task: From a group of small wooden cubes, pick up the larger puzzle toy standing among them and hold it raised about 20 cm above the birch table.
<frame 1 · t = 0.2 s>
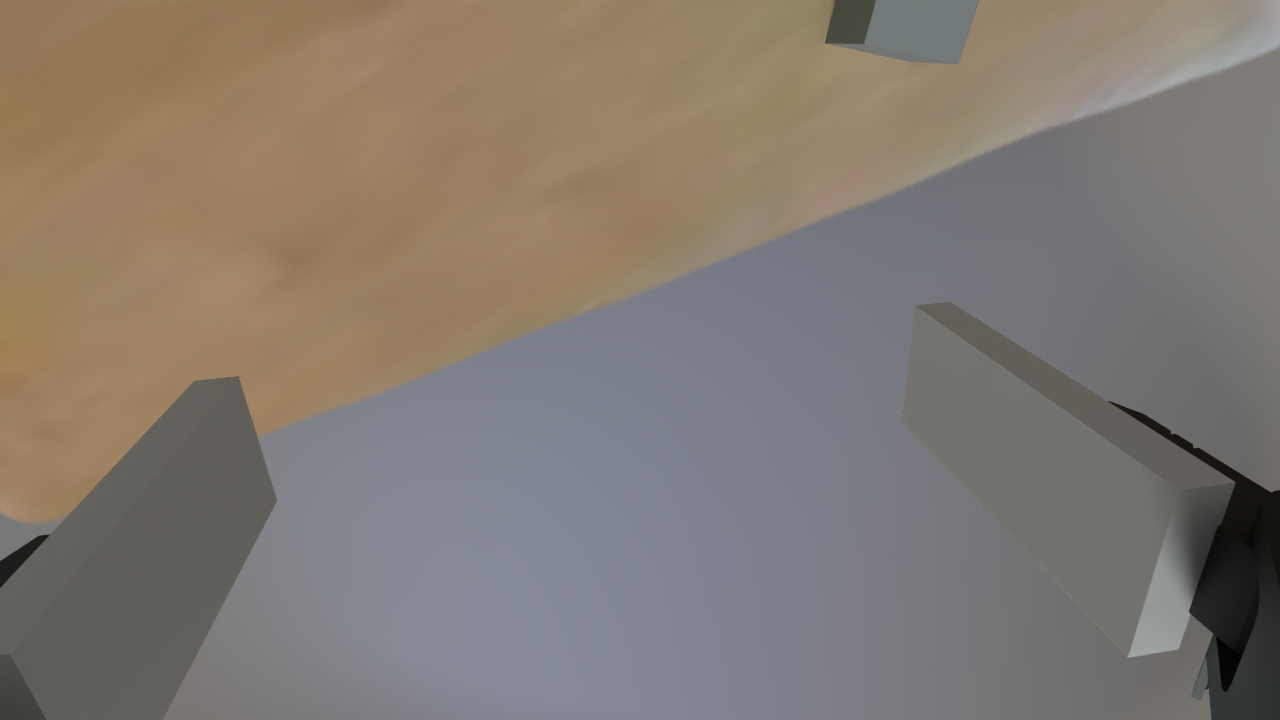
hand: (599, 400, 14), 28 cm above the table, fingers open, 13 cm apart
slate grey cube: (881, 1, 39), on the table
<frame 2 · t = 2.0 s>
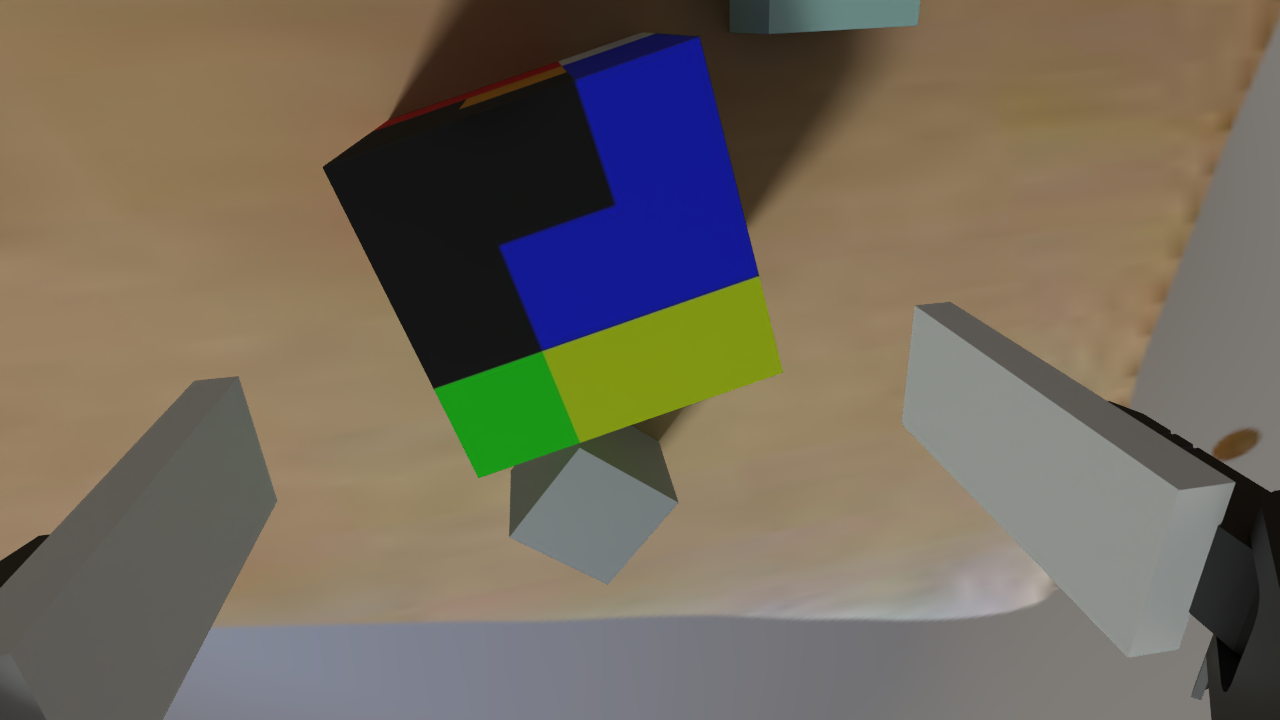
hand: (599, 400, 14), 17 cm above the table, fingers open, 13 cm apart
puzzle toy: (560, 201, 30), on the table
slate grey cube: (585, 455, 35), on the table
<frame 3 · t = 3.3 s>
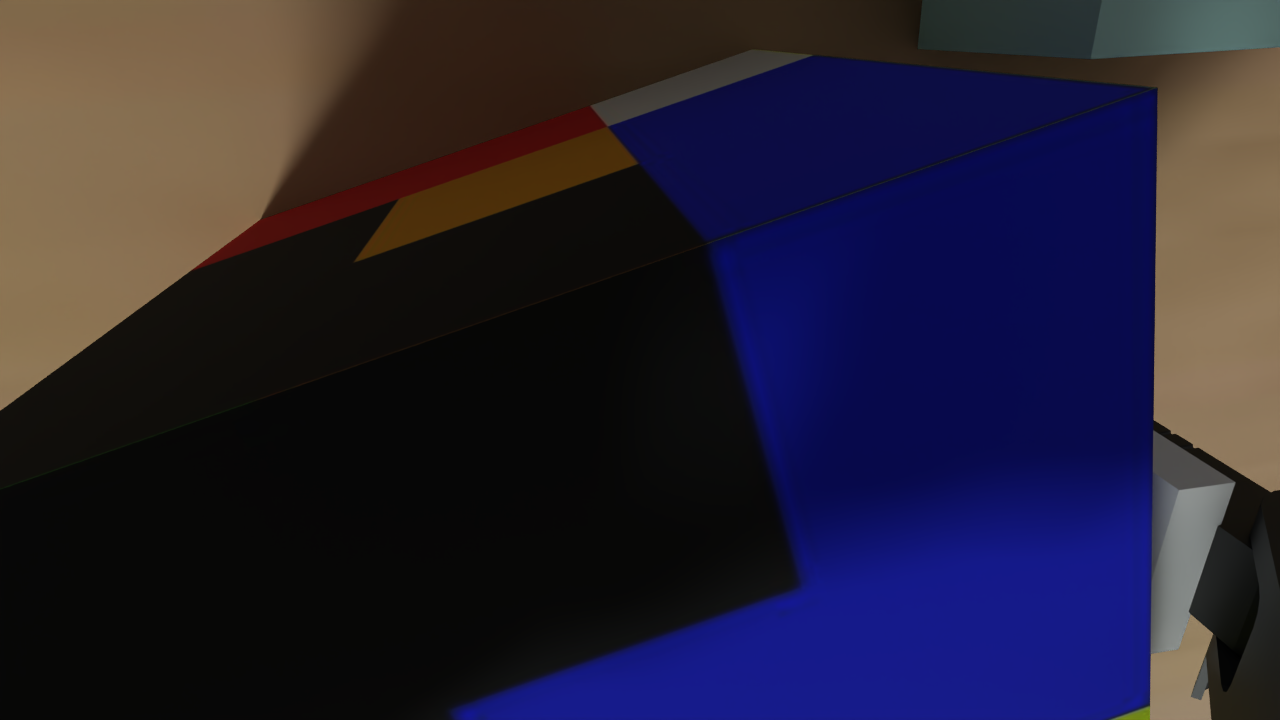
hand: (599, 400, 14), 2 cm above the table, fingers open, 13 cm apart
puzzle toy: (590, 351, 16), on the table
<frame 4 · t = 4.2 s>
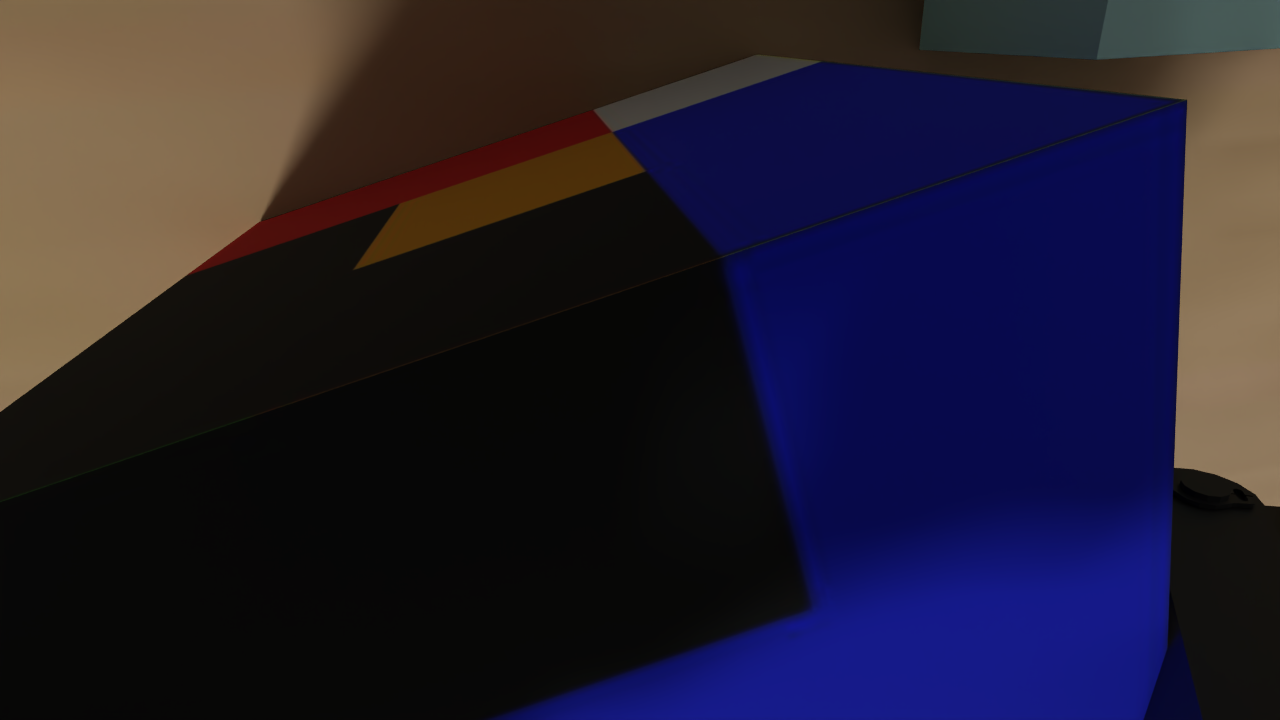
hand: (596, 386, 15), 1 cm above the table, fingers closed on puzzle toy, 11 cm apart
puzzle toy: (591, 358, 16), on the table, touching gripper
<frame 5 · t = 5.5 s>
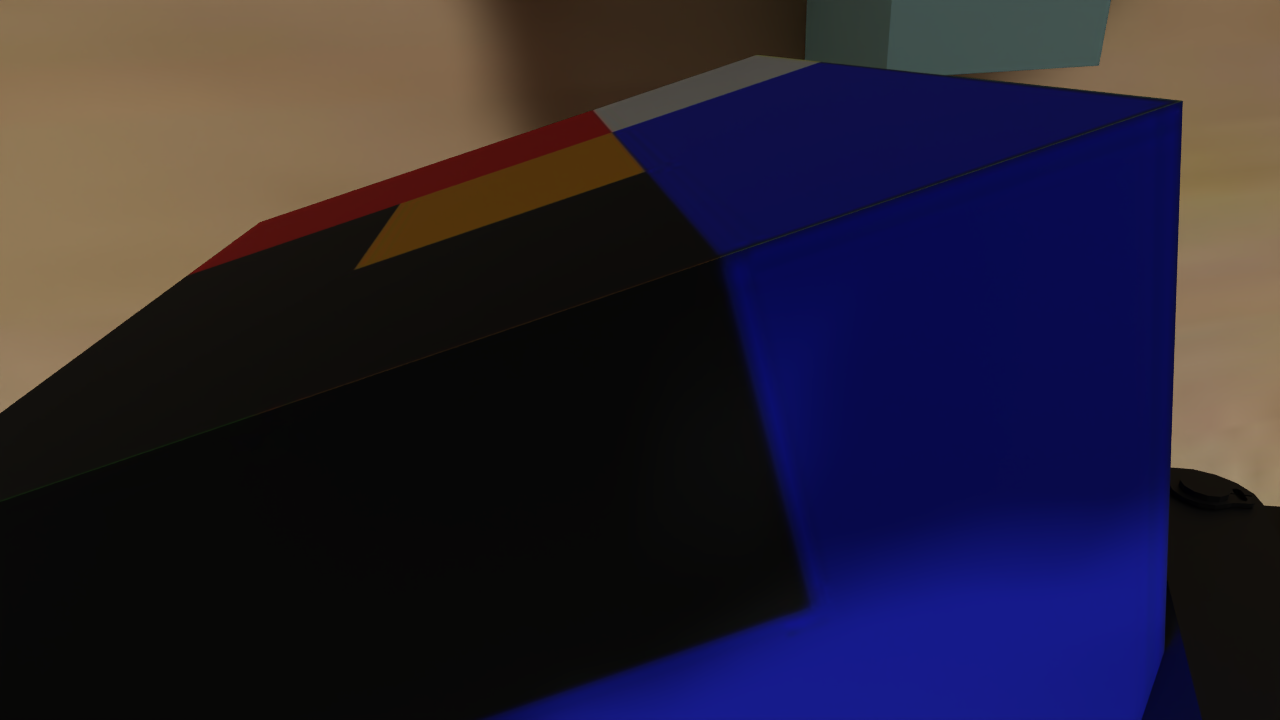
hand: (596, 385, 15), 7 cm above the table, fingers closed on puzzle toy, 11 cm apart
puzzle toy: (591, 358, 16), point 6 cm above the table, touching gripper
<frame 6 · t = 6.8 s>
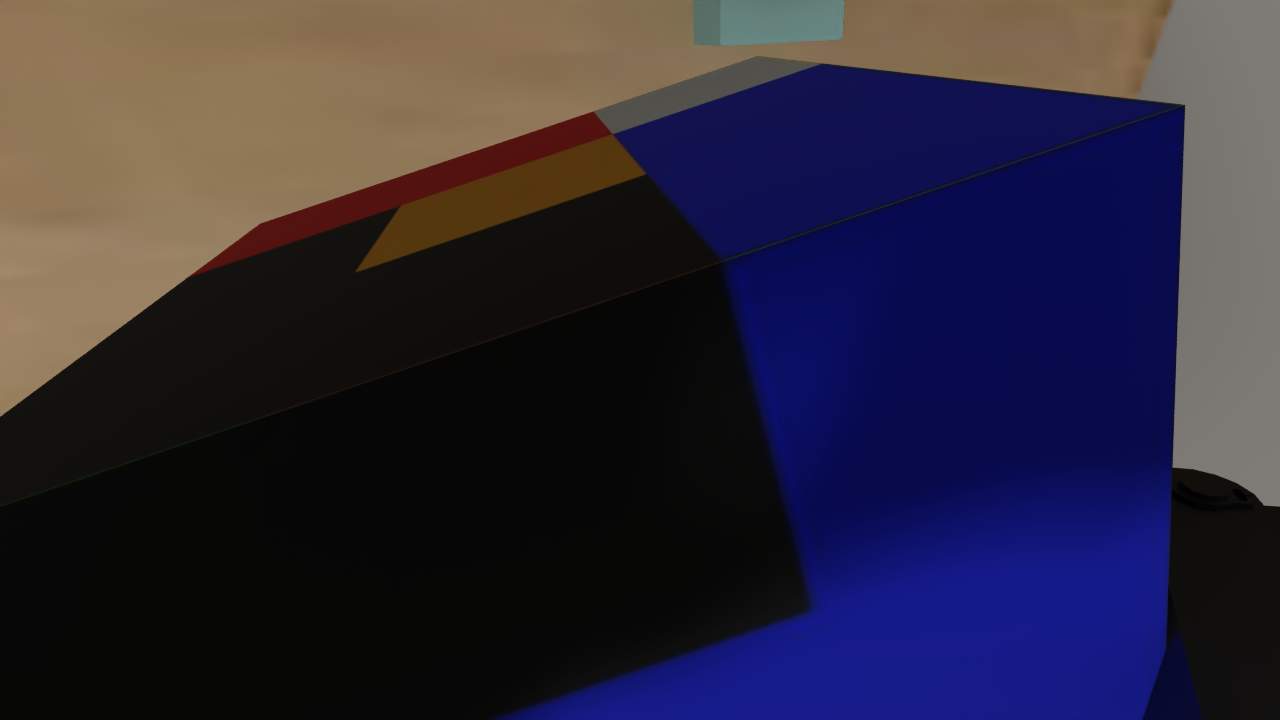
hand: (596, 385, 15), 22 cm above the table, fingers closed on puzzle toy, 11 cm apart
puzzle toy: (591, 359, 16), point 21 cm above the table, touching gripper
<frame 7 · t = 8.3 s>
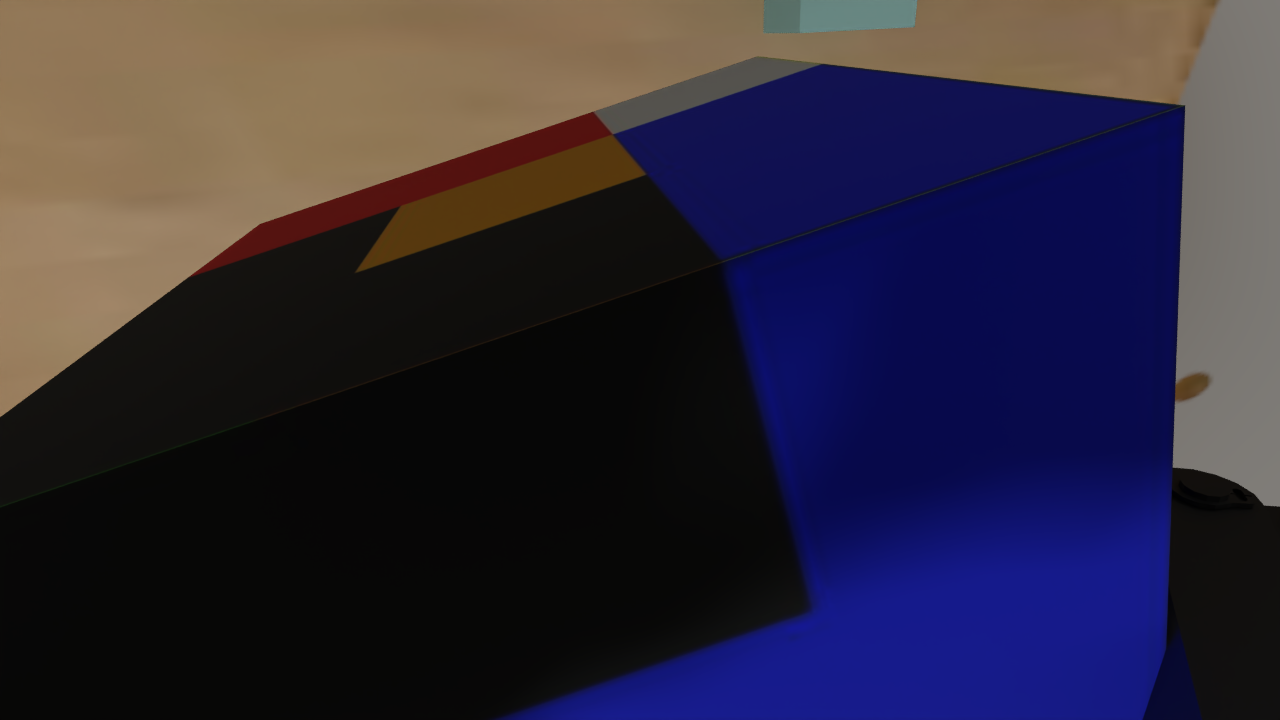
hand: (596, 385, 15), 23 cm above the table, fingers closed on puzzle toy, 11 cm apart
puzzle toy: (591, 359, 16), point 22 cm above the table, touching gripper
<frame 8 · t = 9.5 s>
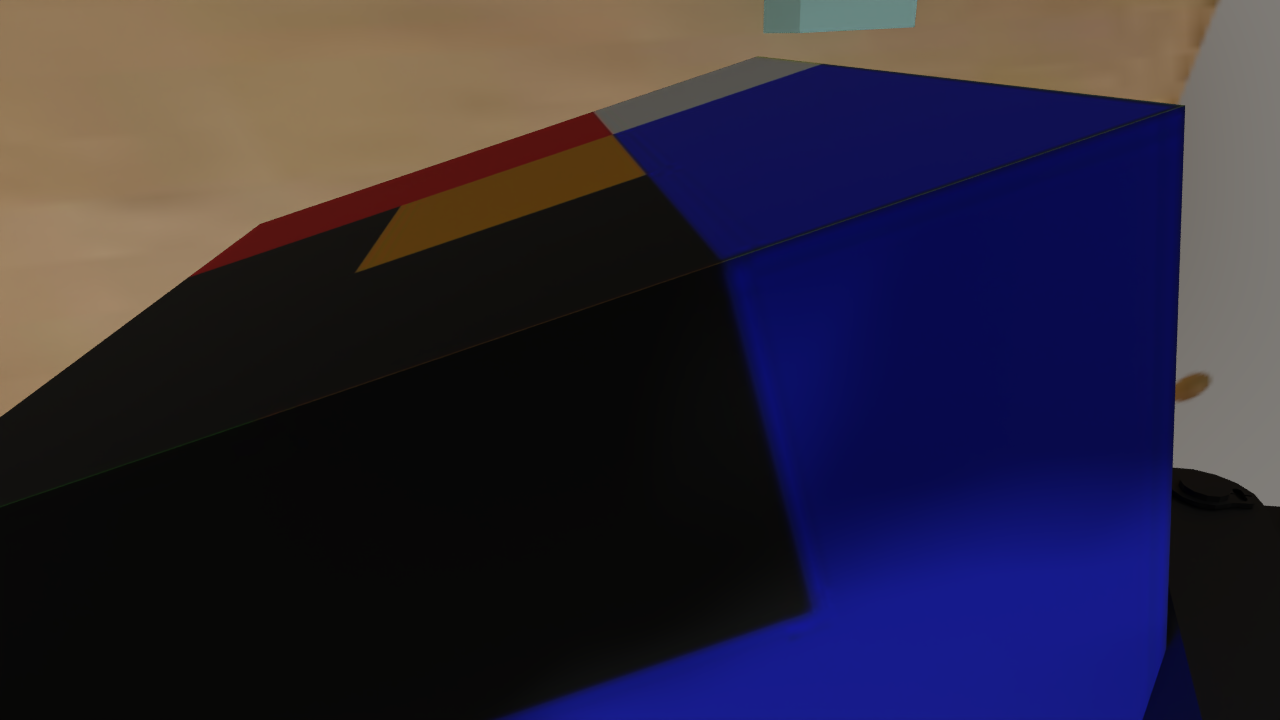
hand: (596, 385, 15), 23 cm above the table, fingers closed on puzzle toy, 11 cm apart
puzzle toy: (591, 359, 16), point 22 cm above the table, touching gripper
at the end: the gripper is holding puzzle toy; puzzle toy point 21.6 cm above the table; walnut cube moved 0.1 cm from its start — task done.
